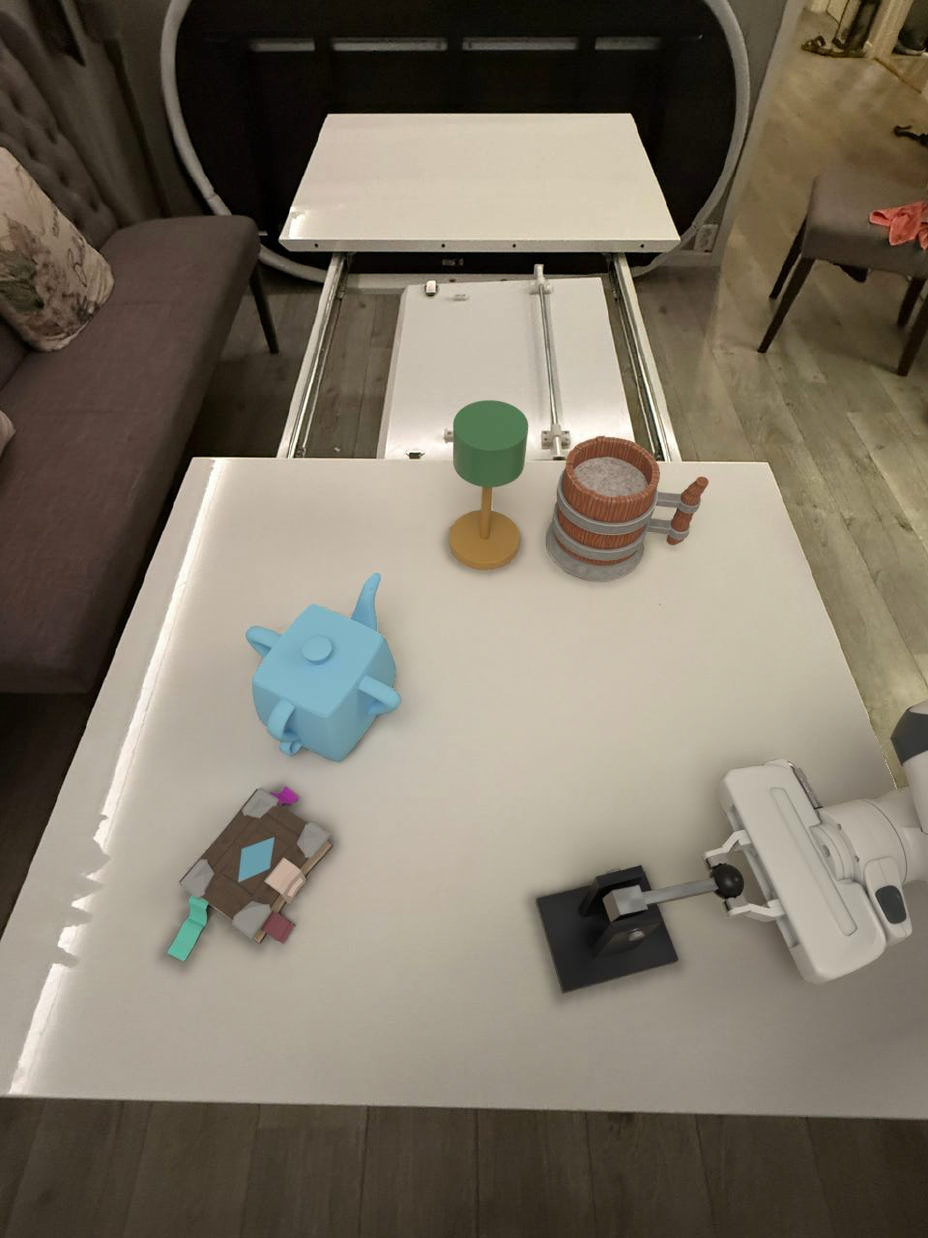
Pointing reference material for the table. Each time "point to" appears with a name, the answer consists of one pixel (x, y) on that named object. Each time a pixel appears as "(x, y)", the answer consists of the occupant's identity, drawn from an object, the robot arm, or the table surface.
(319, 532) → the table surface
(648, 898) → the lever
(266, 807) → the book
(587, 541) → the mug
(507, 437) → the lamp
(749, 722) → the table surface
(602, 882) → the switch bracket
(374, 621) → the teapot
